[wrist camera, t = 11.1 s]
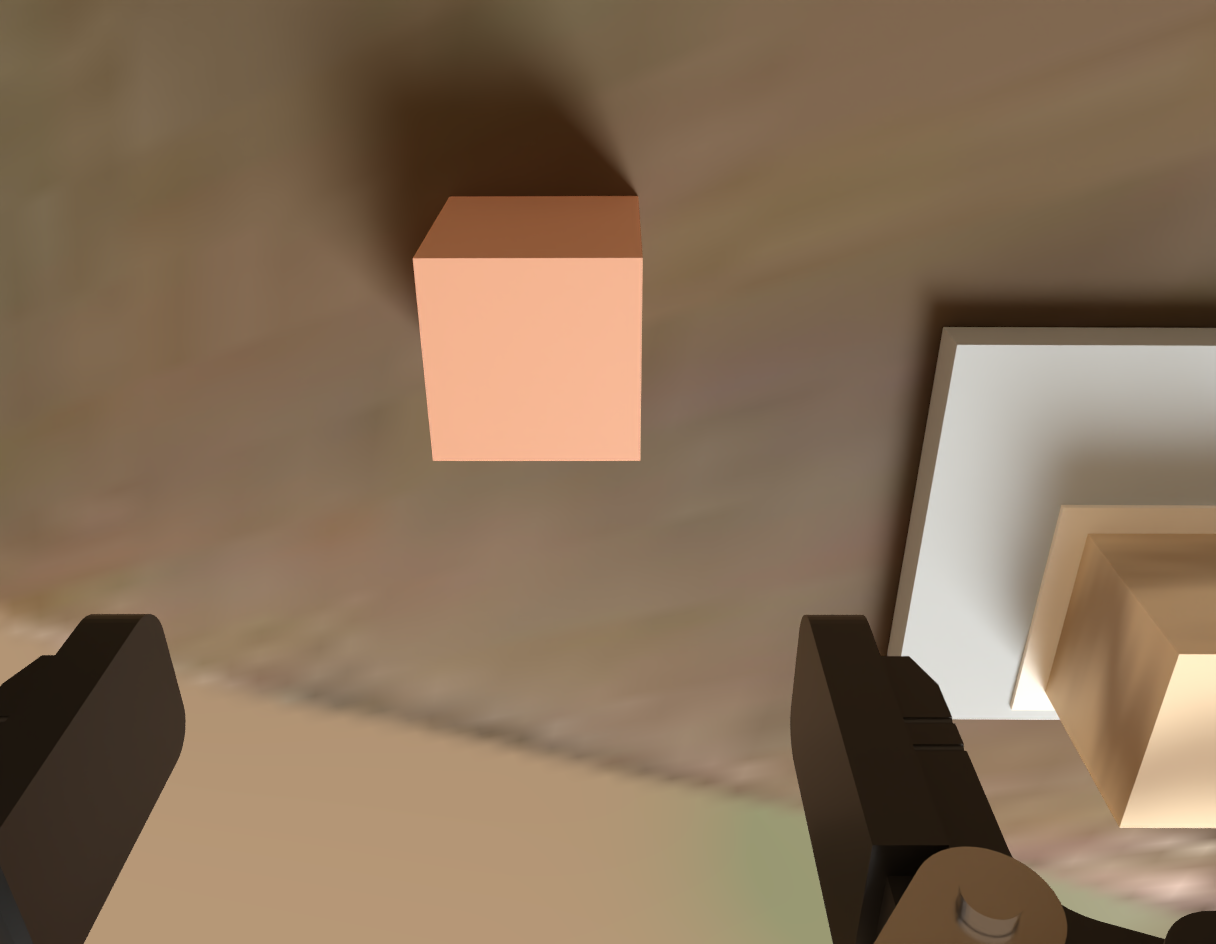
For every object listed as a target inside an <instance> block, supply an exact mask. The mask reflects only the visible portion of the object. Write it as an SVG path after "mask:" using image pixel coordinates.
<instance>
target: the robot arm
mask: <svg viewBox="0 0 1216 944" xmlns="http://www.w3.org/2000/svg"><path fill="white" fill-rule="evenodd" d="M790 729H791V746H792V754H793V760H794V765H795V770H796V774H797V779H798V784H799V788H800V793H801V798H802V802H803V807H804V811H805V816H806V821H807V825H808V830H809V834H810V839H811V844H812V848H813V853H814V857H815V862H816V867H817V871H818V876H819V880H820V885H821V890H822V895H823V899H824V904H825V908H826V913H827V918H828V922H829V927H830V932H831V936H832V941H833V944H1216V911H1201V912H1196V913H1191V914H1189V915H1186V916H1184V917H1182V918H1180V919H1179V920H1178V921H1176V922H1175V923H1174V924H1173V925H1172V927H1171V928H1170V929H1169V931H1168V933H1167V936H1166V938H1165V939H1162V938H1158V937H1155V936H1151V935H1148V934H1144V933H1140V932H1137V931H1133V930H1129V929H1126V928H1122V927H1118V926H1115V925H1111V924H1108V923H1104V922H1100V921H1097V920H1094V919H1091V918H1088V917H1085V916H1083V915H1081V914H1078V913H1076V912H1074V911H1072V910H1070V909H1068V908H1066V907H1064V906H1063V905H1061V902H1060V901H1059V899H1058V898H1057V896H1056V894H1055V893H1054V891H1053V890H1052V889H1051V888H1050V886H1049V885H1048V884H1047V883H1046V882H1045V881H1044V880H1043V879H1042V878H1041V877H1040V876H1039V875H1038V874H1037V873H1036V872H1034V871H1033V870H1031V869H1030V868H1029V867H1027V866H1026V865H1024V864H1023V863H1021V862H1019V861H1017V860H1016V859H1014V858H1013V857H1012V855H1011V853H1010V851H1009V849H1008V847H1007V845H1006V842H1005V840H1004V838H1003V835H1002V833H1001V830H1000V828H999V826H998V823H997V821H996V819H995V816H994V814H993V812H992V809H991V807H990V805H989V802H988V800H987V798H986V795H985V793H984V791H983V788H982V786H981V784H980V781H979V779H978V776H977V774H976V772H975V769H974V767H973V765H972V762H971V760H970V758H969V755H968V753H967V751H964V744H963V741H962V739H961V737H960V734H959V732H958V730H957V727H956V725H955V724H953V723H952V715H951V713H950V711H949V708H948V706H947V704H946V701H945V699H944V697H943V694H942V692H941V690H940V687H939V685H938V684H937V683H936V682H935V681H934V680H933V679H932V678H931V677H930V676H929V675H928V674H927V673H926V672H925V671H924V670H923V669H922V668H921V667H920V666H919V665H918V664H917V663H916V662H915V661H914V660H913V659H912V658H911V657H910V656H880V653H879V651H878V648H877V645H876V642H875V640H874V637H873V634H872V631H871V629H870V626H869V623H868V621H867V619H866V617H865V616H864V615H804V616H803V617H802V620H801V624H800V630H799V639H798V648H797V657H796V667H795V676H794V685H793V694H792V703H791V717H790ZM184 735H185V710H184V705H183V702H182V698H181V694H180V690H179V687H178V683H177V679H176V676H175V672H174V668H173V664H172V661H171V657H170V653H169V650H168V646H167V642H166V638H165V635H164V631H163V628H162V625H161V623H160V621H159V620H158V618H157V617H155V616H154V615H152V614H91V615H88V616H86V617H85V618H84V619H82V621H81V622H80V623H79V624H78V626H77V627H76V628H75V630H74V631H73V632H72V634H71V635H70V636H69V638H68V639H67V640H66V641H65V643H64V644H63V645H62V647H61V648H60V649H59V651H58V652H57V653H56V655H42V656H40V657H39V658H38V659H36V660H35V661H34V662H32V663H31V664H29V665H28V666H27V667H25V668H24V669H22V670H21V671H20V672H18V673H17V674H15V675H14V676H13V677H11V678H10V679H8V680H7V681H6V682H4V683H3V684H2V685H1V686H0V944H84V942H85V940H86V938H87V936H88V934H89V932H90V930H91V928H92V926H93V924H94V922H95V920H96V918H97V917H98V914H99V912H100V911H101V909H102V907H103V905H104V903H105V901H106V899H107V897H108V895H109V893H110V891H111V889H112V887H113V885H114V883H115V881H116V879H117V877H118V876H119V873H120V872H121V870H122V868H123V866H124V863H125V862H126V860H127V858H128V856H129V854H130V852H131V850H132V848H133V846H134V844H135V842H136V841H137V839H138V836H139V834H140V833H141V831H142V829H143V827H144V825H145V823H146V821H147V819H148V817H149V815H150V813H151V811H152V809H153V807H154V805H155V803H156V801H157V800H158V798H159V796H160V794H161V792H162V790H163V788H164V786H165V784H166V782H167V780H168V778H169V776H170V774H171V772H172V770H173V768H174V766H175V764H176V762H177V760H178V758H179V756H180V753H181V750H182V746H183V741H184Z"/></svg>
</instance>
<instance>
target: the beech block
mask: <svg viewBox="0 0 1216 944" xmlns="http://www.w3.org/2000/svg"><path fill="white" fill-rule="evenodd" d="M1045 693H1046V695H1047V697H1048V698H1049V700H1050V702H1051V704H1052V706H1053V708H1054V709H1055V711H1056V713H1057V715H1058V717H1059V719H1060V720H1061V722H1062V724H1063V726H1064V728H1065V729H1066V731H1067V733H1068V735H1069V737H1070V739H1071V740H1072V742H1073V744H1074V746H1075V748H1076V749H1077V751H1078V753H1079V755H1080V757H1081V759H1082V760H1083V762H1084V764H1085V766H1086V768H1087V770H1088V771H1089V773H1090V775H1091V777H1092V779H1093V780H1094V782H1095V784H1096V786H1097V788H1098V790H1099V791H1100V793H1101V795H1102V797H1103V799H1104V800H1105V802H1106V804H1107V806H1108V808H1109V810H1110V811H1111V813H1112V815H1113V817H1114V819H1115V821H1116V822H1117V824H1118V826H1119V828H1216V534H1088V535H1087V538H1086V542H1085V546H1084V550H1083V553H1082V557H1081V561H1080V564H1079V568H1078V572H1077V576H1076V579H1075V583H1074V587H1073V590H1072V594H1071V598H1070V602H1069V605H1068V609H1067V613H1066V616H1065V620H1064V624H1063V628H1062V631H1061V635H1060V639H1059V642H1058V646H1057V650H1056V654H1055V657H1054V661H1053V665H1052V668H1051V672H1050V676H1049V680H1048V683H1047V687H1046V691H1045Z"/></svg>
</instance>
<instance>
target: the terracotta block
mask: <svg viewBox="0 0 1216 944" xmlns="http://www.w3.org/2000/svg"><path fill="white" fill-rule="evenodd" d="M413 266H414V276H415V286H416V296H417V306H418V316H419V326H420V336H421V346H422V356H423V366H424V376H425V386H426V396H427V406H428V416H429V426H430V436H431V445H432V455H433V461H640V432H641V349H642V266H643V257H642V243H641V229H640V215H639V201H638V196H455V197H449V198H448V200H447V201H446V203H445V205H444V206H443V208H442V210H441V212H440V213H439V215H438V217H437V218H436V220H435V222H434V223H433V225H432V227H431V228H430V230H429V232H428V233H427V235H426V237H425V238H424V240H423V242H422V244H421V245H420V247H419V249H418V250H417V252H416V254H415V255H414V257H413Z"/></svg>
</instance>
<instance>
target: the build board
mask: <svg viewBox="0 0 1216 944" xmlns="http://www.w3.org/2000/svg"><path fill="white" fill-rule="evenodd" d="M1088 534H1216V328H1080V327H943V331H942V337H941V343H940V349H939V354H938V360H937V366H936V372H935V378H934V384H933V389H932V395H931V401H930V407H929V413H928V419H927V424H926V430H925V436H924V442H923V448H922V454H921V459H920V465H919V471H918V477H917V483H916V489H915V494H914V500H913V506H912V512H911V518H910V524H909V529H908V535H907V541H906V547H905V553H904V559H903V564H902V570H901V576H900V582H899V588H898V594H897V599H896V605H895V611H894V617H893V623H892V629H891V634H890V640H889V646H888V652H887V656H910V657H911V658H912V659H913V660H914V661H915V662H916V663H917V664H918V665H919V666H920V667H921V668H922V669H923V670H924V671H925V672H926V673H927V674H928V675H929V676H930V677H931V678H932V679H933V680H934V681H935V682H936V683H937V684H938V685H939V687H940V690H941V692H942V694H943V697H944V699H945V701H946V704H947V706H948V708H949V711H950V713H951V715H952V719H1021V720H1060V719H1059V717H1058V715H1057V713H1056V711H1055V709H1054V708H1053V706H1052V704H1051V702H1050V700H1049V698H1048V697H1047V695H1046V693H1045V691H1046V687H1047V683H1048V680H1049V676H1050V672H1051V668H1052V665H1053V661H1054V657H1055V654H1056V650H1057V646H1058V642H1059V639H1060V635H1061V631H1062V628H1063V624H1064V620H1065V616H1066V613H1067V609H1068V605H1069V602H1070V598H1071V594H1072V590H1073V587H1074V583H1075V579H1076V576H1077V572H1078V568H1079V564H1080V561H1081V557H1082V553H1083V550H1084V546H1085V542H1086V538H1087V535H1088Z"/></svg>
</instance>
